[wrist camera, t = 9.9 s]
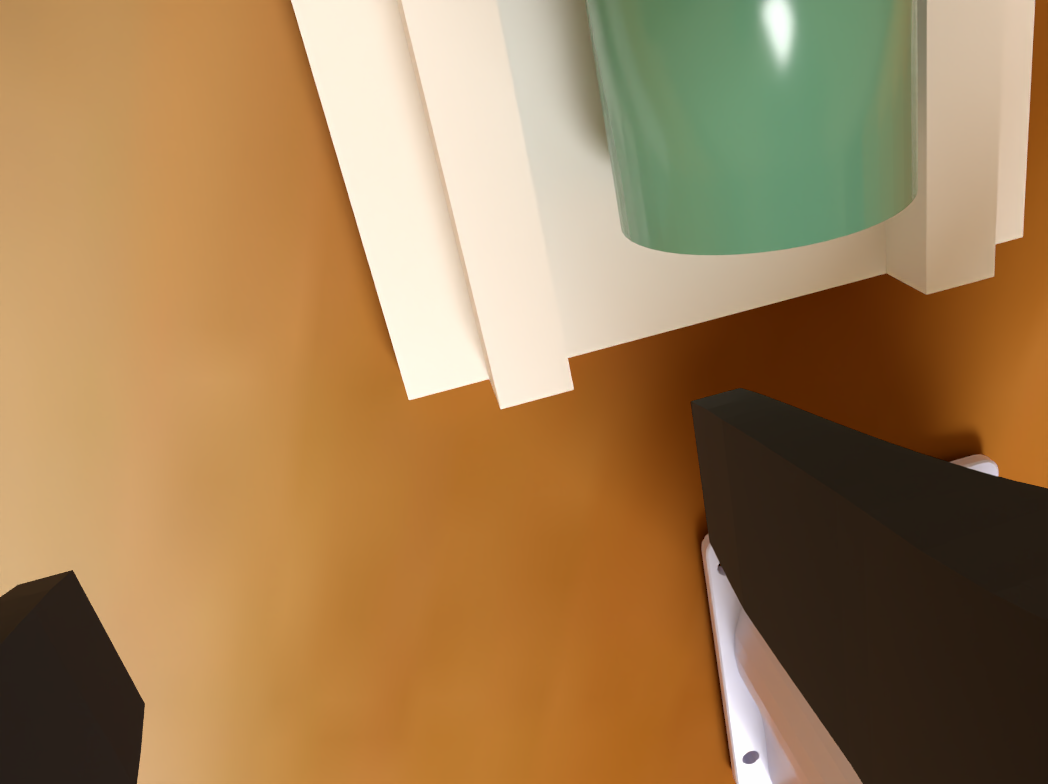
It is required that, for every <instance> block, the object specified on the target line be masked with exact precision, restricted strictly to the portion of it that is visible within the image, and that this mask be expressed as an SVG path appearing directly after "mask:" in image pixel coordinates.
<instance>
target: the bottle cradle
mask: <svg viewBox="0 0 1048 784" xmlns="http://www.w3.org/2000/svg"><path fill="white" fill-rule="evenodd" d="M291 2H292V5H293V8H294V12H295V15H296V19H297V22H298V25H299V29H300V32H301V36H302V39H303V42H304V46H305V49H306V52H307V56H308V59H309V63H310V66H311V69H312V73H313V76H314V80H315V83H316V86H317V90H318V93H319V97H320V100H321V103H322V107H323V110H324V114H325V117H326V120H327V124H328V127H329V131H330V134H331V137H332V141H333V144H334V148H335V151H336V154H337V158H338V161H339V165H340V168H341V171H342V175H343V178H344V182H345V185H346V188H347V192H348V195H349V199H350V202H351V205H352V209H353V212H354V216H355V219H356V222H357V226H358V229H359V232H360V236H361V239H362V243H363V246H364V249H365V253H366V256H367V260H368V263H369V266H370V270H371V273H372V277H373V280H374V283H375V287H376V290H377V294H378V297H379V300H380V304H381V307H382V311H383V314H384V317H385V321H386V324H387V328H388V331H389V334H390V338H391V341H392V345H393V348H394V351H395V355H396V358H397V362H398V365H399V368H400V372H401V375H402V379H403V382H404V385H405V389H406V392H407V396H408V399H409V400H412V399H416V398H419V397H423V396H427V395H431V394H434V393H438V392H442V391H446V390H449V389H453V388H457V387H461V386H465V385H468V384H472V383H476V382H480V381H483V380H487V379H490V382H491V384H492V387H493V390H494V392H495V395H496V398H497V401H498V403H499V406H500V409H504V408H507V407H511V406H515V405H519V404H522V403H526V402H530V401H533V400H537V399H541V398H545V397H548V396H552V395H556V394H559V393H563V392H567V391H571V390H574V387H573V382H572V377H571V372H570V367H569V362H568V358H570V357H574V356H577V355H581V354H585V353H589V352H592V351H596V350H600V349H604V348H607V347H611V346H615V345H619V344H622V343H626V342H630V341H634V340H638V339H641V338H645V337H649V336H653V335H656V334H660V333H664V332H668V331H671V330H675V329H679V328H683V327H686V326H690V325H694V324H698V323H701V322H705V321H709V320H713V319H716V318H720V317H724V316H728V315H732V314H735V313H739V312H743V311H747V310H750V309H754V308H758V307H762V306H765V305H769V304H773V303H777V302H780V301H784V300H788V299H792V298H795V297H799V296H803V295H807V294H811V293H814V292H818V291H822V290H826V289H829V288H833V287H837V286H841V285H844V284H848V283H852V282H856V281H859V280H863V279H867V278H871V277H874V276H878V275H882V274H886V273H887V274H889V275H890V276H892V277H894V278H896V279H898V280H900V281H902V282H903V283H905V284H907V285H909V286H911V287H913V288H915V289H916V290H918V291H920V292H922V293H924V294H926V295H928V294H931V293H935V292H939V291H943V290H946V289H950V288H954V287H957V286H961V285H965V284H969V283H972V282H976V281H980V280H983V279H987V278H991V277H994V270H995V244H999V243H1002V242H1006V241H1010V240H1014V239H1017V238H1021V237H1023V225H1024V206H1025V186H1026V167H1027V148H1028V129H1029V109H1030V90H1031V71H1032V51H1033V32H1034V13H1035V0H917V49H918V191H917V195H916V197H915V199H914V200H913V201H912V203H911V204H910V205H908V206H907V207H906V208H905V209H904V210H902V211H901V212H899V213H898V214H896V215H895V216H893V217H891V218H889V219H887V220H885V221H883V222H881V223H879V224H877V225H874V226H872V227H869V228H867V229H865V230H862V231H859V232H856V233H853V234H850V235H847V236H843V237H839V238H836V239H832V240H829V241H825V242H820V243H816V244H811V245H807V246H801V247H796V248H790V249H784V250H777V251H769V252H761V253H750V254H738V255H688V254H676V253H669V252H662V251H658V250H653V249H649V248H646V247H643V246H640V245H638V244H636V243H634V242H632V241H630V240H629V239H628V238H626V237H625V236H624V234H623V233H622V230H621V224H620V218H619V212H618V206H617V199H616V193H615V187H614V180H613V174H612V168H611V161H610V155H609V149H608V142H607V136H606V130H605V123H604V117H603V111H602V105H601V98H600V92H599V86H598V79H597V73H596V67H595V60H594V54H593V48H592V41H591V35H590V29H589V22H588V16H587V10H586V3H585V0H291Z"/></svg>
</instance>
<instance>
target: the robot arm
mask: <svg viewBox="0 0 1048 784" xmlns="http://www.w3.org/2000/svg"><path fill="white" fill-rule="evenodd" d="M691 407H692V415H693V422H694V430H695V437H696V445H697V452H698V460H699V467H700V475H701V482H702V490H703V497H704V505H705V512H706V520H707V527H708V534H707V535H706V536H705V538H704V540H703V541H702V548H701V550H702V557H703V564H704V571H705V579H706V586H707V593H708V600H709V607H710V615H711V622H712V629H713V636H714V643H715V651H716V658H717V665H718V672H719V679H720V687H721V694H722V701H723V708H724V715H725V723H726V730H727V737H728V744H729V751H730V758H731V766H732V773H733V778H734V780H735V782H736V784H1048V489H1047V488H1043V487H1039V486H1035V485H1030V484H1026V483H1022V482H1017V481H1013V480H1009V479H1006V478H1002V477H998V474H999V471H998V466H997V465H996V463H995V462H994V461H992V460H991V459H990V458H988V457H987V456H985V455H982V454H977V455H972V456H968V457H965V458H961V459H958V460H954V461H951V462H947V461H944V460H941V459H937V458H934V457H931V456H928V455H925V454H921V453H918V452H915V451H912V450H910V449H907V448H904V447H901V446H898V445H895V444H892V443H889V442H886V441H883V440H881V439H878V438H875V437H872V436H870V435H867V434H864V433H861V432H859V431H856V430H853V429H851V428H848V427H845V426H843V425H840V424H837V423H835V422H832V421H830V420H827V419H824V418H822V417H819V416H817V415H814V414H812V413H809V412H806V411H804V410H801V409H799V408H796V407H794V406H791V405H788V404H786V403H783V402H780V401H778V400H775V399H773V398H770V397H767V396H764V395H762V394H759V393H756V392H753V391H749V390H746V389H742V388H738V389H735V390H731V391H727V392H724V393H720V394H716V395H713V396H709V397H705V398H702V399H698V400H694V401H691ZM719 563H720V564H721V566H718V565H719ZM144 707H145V703H144V702H143V700H142V698H141V696H140V694H139V692H138V690H137V689H136V687H135V685H134V683H133V681H132V679H131V677H130V676H129V674H128V672H127V670H126V668H125V666H124V665H123V663H122V661H121V659H120V657H119V655H118V653H117V652H116V650H115V648H114V646H113V644H112V642H111V640H110V639H109V637H108V635H107V633H106V631H105V629H104V627H103V626H102V624H101V622H100V620H99V618H98V616H97V614H96V613H95V611H94V609H93V607H92V605H91V603H90V601H89V600H88V598H87V596H86V594H85V592H84V590H83V588H82V587H81V585H80V583H79V581H78V579H77V577H76V575H75V574H74V572H73V570H71V571H68V572H64V573H60V574H57V575H53V576H49V577H46V578H42V579H38V580H35V581H31V582H27V583H24V584H20V585H17V586H16V587H14V588H13V589H11V590H10V591H9V592H7V593H6V594H4V595H3V596H2V597H0V784H137V777H138V769H139V761H140V753H141V743H142V731H143V719H144ZM749 751H750V752H749ZM747 752H748V753H747Z"/></svg>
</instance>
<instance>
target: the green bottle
mask: <svg viewBox="0 0 1048 784" xmlns="http://www.w3.org/2000/svg"><path fill="white" fill-rule="evenodd" d="M585 3H586V10H587V16H588V22H589V29H590V35H591V41H592V48H593V54H594V60H595V67H596V73H597V79H598V86H599V92H600V98H601V105H602V111H603V117H604V123H605V130H606V136H607V142H608V149H609V155H610V161H611V168H612V174H613V180H614V187H615V193H616V199H617V206H618V212H619V218H620V224H621V230H622V233H623V234H624V236H625V237H626V238H628V239H629V240H630V241H632V242H634V243H636V244H638V245H640V246H643V247H646V248H649V249H653V250H658V251H662V252H669V253H676V254H688V255H738V254H750V253H761V252H769V251H777V250H784V249H790V248H796V247H801V246H807V245H811V244H816V243H820V242H825V241H829V240H832V239H836V238H839V237H843V236H847V235H850V234H853V233H856V232H859V231H862V230H865V229H867V228H869V227H872V226H874V225H877V224H879V223H881V222H883V221H885V220H887V219H889V218H891V217H893V216H895V215H896V214H898V213H899V212H901V211H902V210H904V209H905V208H906V207H907V206H908V205H910V204H911V203H912V201H913V200H914V199H915V197H916V195H917V191H918V49H917V0H585Z"/></svg>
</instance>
